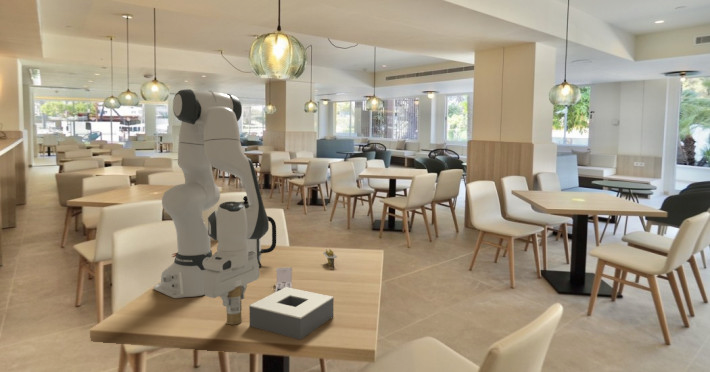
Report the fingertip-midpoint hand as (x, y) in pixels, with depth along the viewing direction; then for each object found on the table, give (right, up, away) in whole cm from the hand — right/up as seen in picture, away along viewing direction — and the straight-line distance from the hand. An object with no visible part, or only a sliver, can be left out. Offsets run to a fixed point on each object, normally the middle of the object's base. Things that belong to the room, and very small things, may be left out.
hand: (233, 302), depth 134 cm
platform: (+25, 0, +61) cm, 66 cm away
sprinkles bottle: (0, -6, +1) cm, 6 cm away
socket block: (+17, -6, +2) cm, 19 cm away
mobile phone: (+11, -4, +26) cm, 29 cm away
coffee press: (-9, +1, +59) cm, 60 cm away
